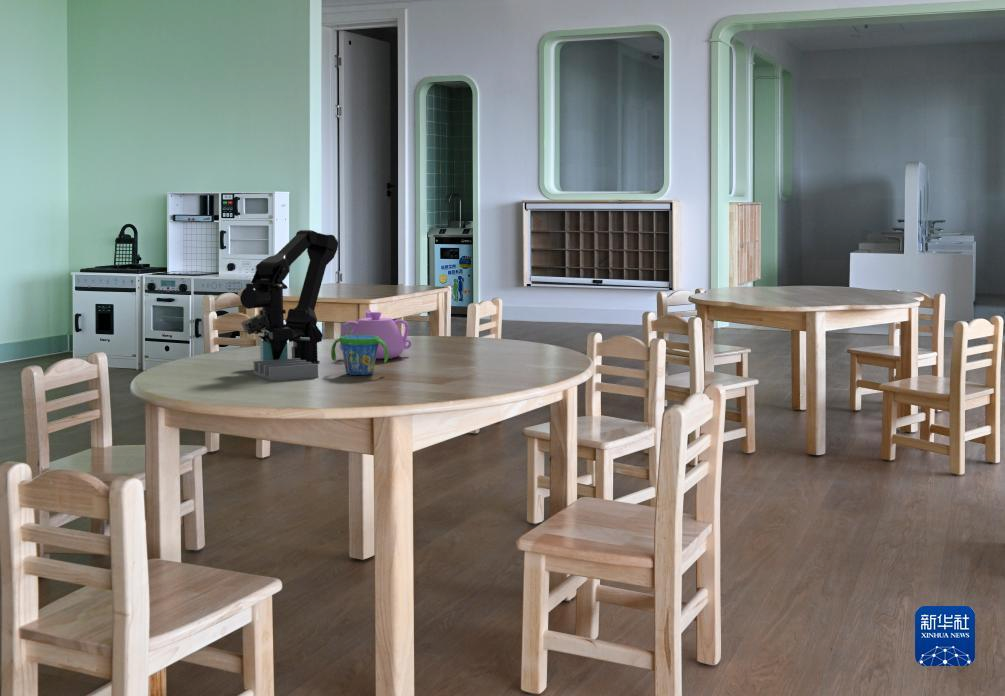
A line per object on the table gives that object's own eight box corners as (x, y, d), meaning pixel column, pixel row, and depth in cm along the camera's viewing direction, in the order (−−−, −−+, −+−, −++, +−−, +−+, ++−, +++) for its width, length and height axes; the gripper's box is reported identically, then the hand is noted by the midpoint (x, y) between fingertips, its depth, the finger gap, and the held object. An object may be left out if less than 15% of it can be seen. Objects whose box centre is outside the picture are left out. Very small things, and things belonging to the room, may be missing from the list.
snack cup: (394, 372, 297) (393, 335, 296) (378, 378, 287) (378, 339, 286) (342, 370, 302) (341, 333, 301) (325, 375, 292) (324, 337, 291)
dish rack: (299, 370, 301) (299, 358, 301) (318, 377, 288) (318, 364, 288) (253, 374, 295) (253, 361, 294) (270, 381, 282) (270, 367, 282)
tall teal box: (285, 367, 307) (284, 339, 306) (287, 368, 305) (287, 340, 304) (260, 369, 304) (260, 340, 303) (263, 370, 302) (262, 341, 301)
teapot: (401, 351, 345) (401, 307, 343) (418, 359, 324) (417, 313, 323) (332, 353, 338) (331, 309, 336) (345, 362, 317) (344, 315, 316)
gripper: (234, 304, 306) (236, 359, 308) (254, 309, 290) (256, 367, 292) (272, 303, 312) (274, 357, 314) (294, 308, 296) (296, 365, 298)
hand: (274, 361), depth 304 cm, fingers closed on tall teal box, 2 cm apart
